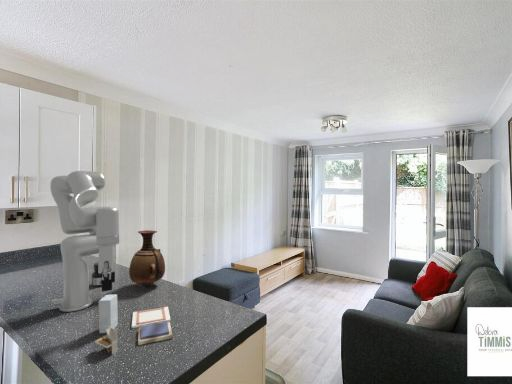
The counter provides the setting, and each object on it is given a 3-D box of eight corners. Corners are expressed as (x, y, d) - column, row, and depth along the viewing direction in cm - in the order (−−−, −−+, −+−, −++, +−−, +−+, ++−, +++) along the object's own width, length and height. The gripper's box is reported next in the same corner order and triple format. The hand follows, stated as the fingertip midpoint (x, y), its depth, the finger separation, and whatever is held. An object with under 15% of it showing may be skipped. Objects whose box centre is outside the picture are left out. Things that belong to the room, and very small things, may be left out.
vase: (130, 282, 154) (130, 229, 154) (164, 278, 161) (163, 227, 161) (127, 295, 134) (127, 235, 134) (166, 290, 141) (166, 232, 141)
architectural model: (107, 358, 84) (107, 334, 84) (94, 352, 88) (94, 329, 88) (117, 353, 87) (117, 330, 87) (105, 347, 91) (104, 324, 90)
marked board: (131, 328, 102) (131, 325, 102) (133, 314, 114) (133, 311, 114) (170, 321, 107) (170, 318, 107) (167, 308, 119) (167, 305, 119)
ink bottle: (92, 288, 144) (92, 266, 144) (89, 284, 150) (89, 263, 150) (112, 284, 150) (112, 263, 150) (108, 280, 157) (108, 260, 157)
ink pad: (138, 345, 91) (138, 339, 91) (138, 331, 100) (138, 325, 100) (172, 338, 95) (172, 332, 95) (169, 325, 104) (169, 320, 104)
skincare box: (106, 325, 104) (106, 294, 104) (117, 324, 105) (117, 293, 105) (98, 333, 98) (98, 300, 98) (110, 333, 98) (110, 300, 98)
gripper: (100, 238, 108) (100, 281, 108) (92, 245, 92) (93, 295, 92) (121, 236, 111) (121, 278, 110) (117, 243, 95) (117, 292, 94)
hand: (108, 286), depth 101 cm, fingers open, 9 cm apart
